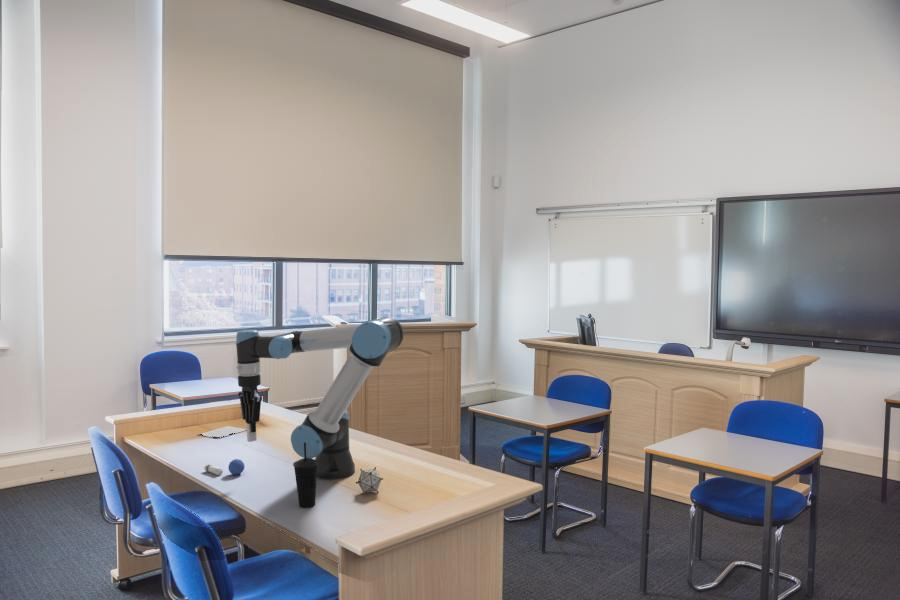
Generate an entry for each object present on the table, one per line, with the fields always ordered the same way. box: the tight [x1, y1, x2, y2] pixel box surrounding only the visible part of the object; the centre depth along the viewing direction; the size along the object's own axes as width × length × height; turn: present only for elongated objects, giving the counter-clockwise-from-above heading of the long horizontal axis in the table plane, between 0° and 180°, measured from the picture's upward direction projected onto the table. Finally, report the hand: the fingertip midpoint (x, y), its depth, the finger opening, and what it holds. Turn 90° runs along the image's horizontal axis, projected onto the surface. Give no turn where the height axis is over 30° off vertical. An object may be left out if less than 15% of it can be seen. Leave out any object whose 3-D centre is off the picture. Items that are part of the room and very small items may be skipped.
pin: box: [204, 463, 223, 476], centre depth 243 cm, size 2×2×8 cm
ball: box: [228, 458, 245, 476], centre depth 241 cm, size 6×6×6 cm
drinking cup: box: [292, 442, 318, 509], centre depth 209 cm, size 8×8×20 cm
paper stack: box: [200, 425, 247, 439], centre depth 295 cm, size 23×25×1 cm
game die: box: [355, 466, 384, 496], centre depth 220 cm, size 9×8×10 cm
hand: (252, 440), depth 235 cm, fingers closed
